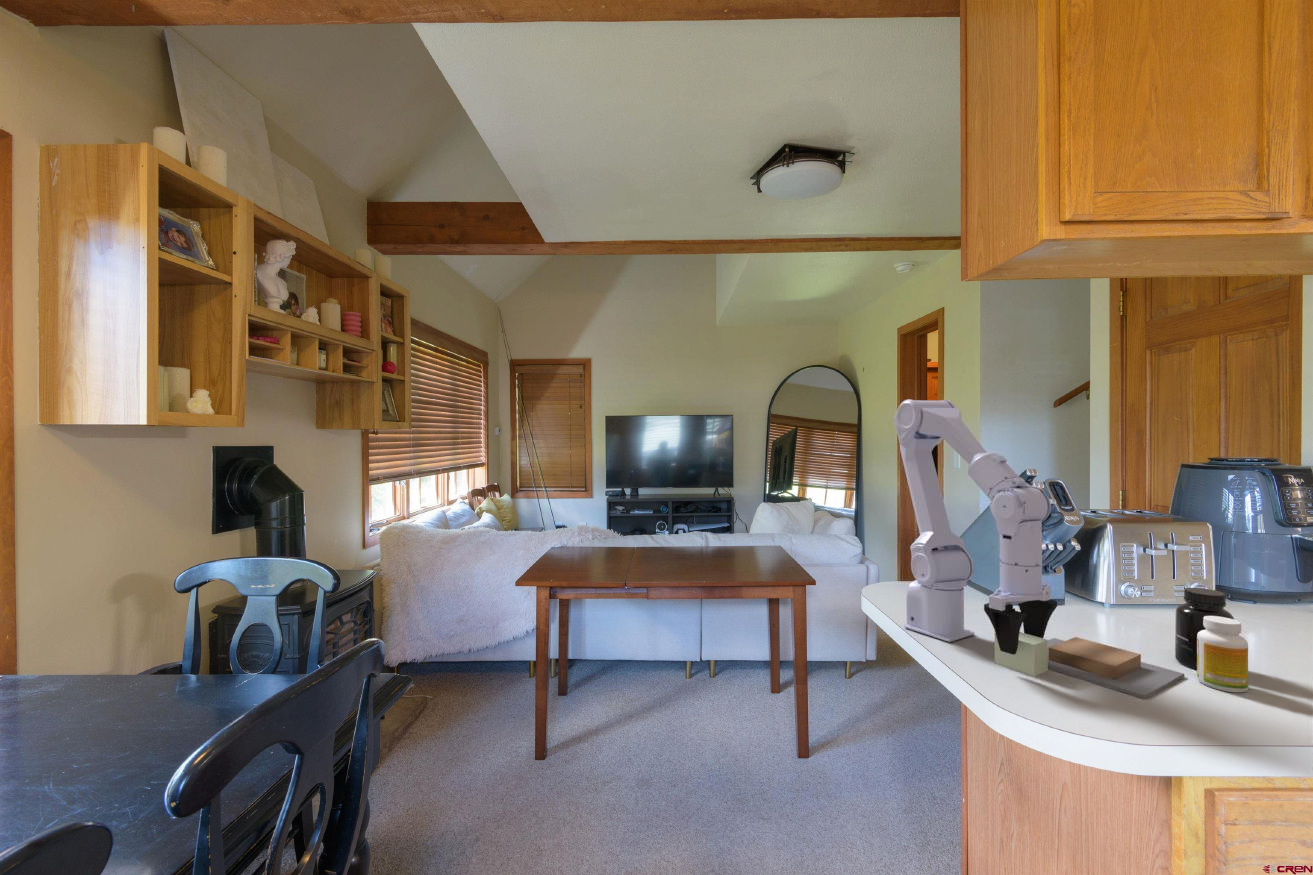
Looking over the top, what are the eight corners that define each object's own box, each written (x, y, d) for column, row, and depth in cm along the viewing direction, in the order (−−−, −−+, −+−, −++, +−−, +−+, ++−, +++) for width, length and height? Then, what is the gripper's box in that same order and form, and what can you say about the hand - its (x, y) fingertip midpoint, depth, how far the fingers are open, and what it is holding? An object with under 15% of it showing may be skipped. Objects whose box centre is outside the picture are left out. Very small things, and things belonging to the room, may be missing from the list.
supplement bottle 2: (1258, 695, 82) (1259, 626, 82) (1214, 691, 83) (1214, 624, 83) (1229, 679, 87) (1229, 614, 87) (1188, 676, 88) (1187, 613, 88)
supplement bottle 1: (1165, 661, 94) (1165, 588, 94) (1188, 654, 96) (1188, 583, 96) (1220, 677, 87) (1220, 599, 87) (1243, 670, 90) (1243, 593, 90)
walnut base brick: (1048, 659, 94) (1048, 647, 93) (1075, 648, 98) (1075, 636, 98) (1114, 679, 86) (1114, 666, 86) (1140, 666, 90) (1140, 654, 90)
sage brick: (994, 663, 94) (994, 633, 94) (1008, 658, 96) (1008, 628, 96) (1034, 676, 88) (1034, 644, 88) (1047, 671, 90) (1047, 639, 90)
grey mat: (1011, 656, 96) (1011, 653, 96) (1054, 640, 103) (1054, 637, 103) (1144, 699, 81) (1144, 695, 81) (1184, 676, 88) (1184, 673, 88)
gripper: (1022, 573, 85) (1023, 665, 85) (1071, 561, 92) (1071, 646, 92) (975, 564, 91) (976, 650, 91) (1024, 554, 98) (1025, 633, 98)
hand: (1021, 647), depth 92 cm, fingers open, 7 cm apart
